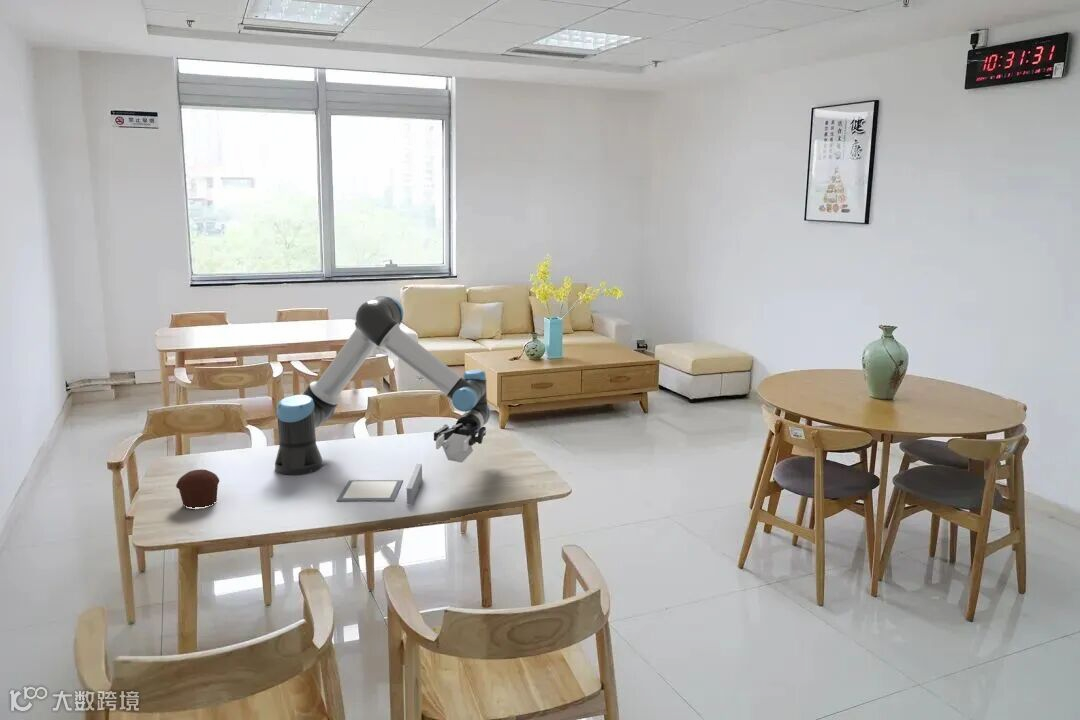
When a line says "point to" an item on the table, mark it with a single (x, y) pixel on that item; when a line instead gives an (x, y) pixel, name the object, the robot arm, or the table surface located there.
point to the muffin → (198, 488)
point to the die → (456, 448)
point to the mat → (370, 491)
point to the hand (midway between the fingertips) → (450, 445)
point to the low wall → (414, 484)
